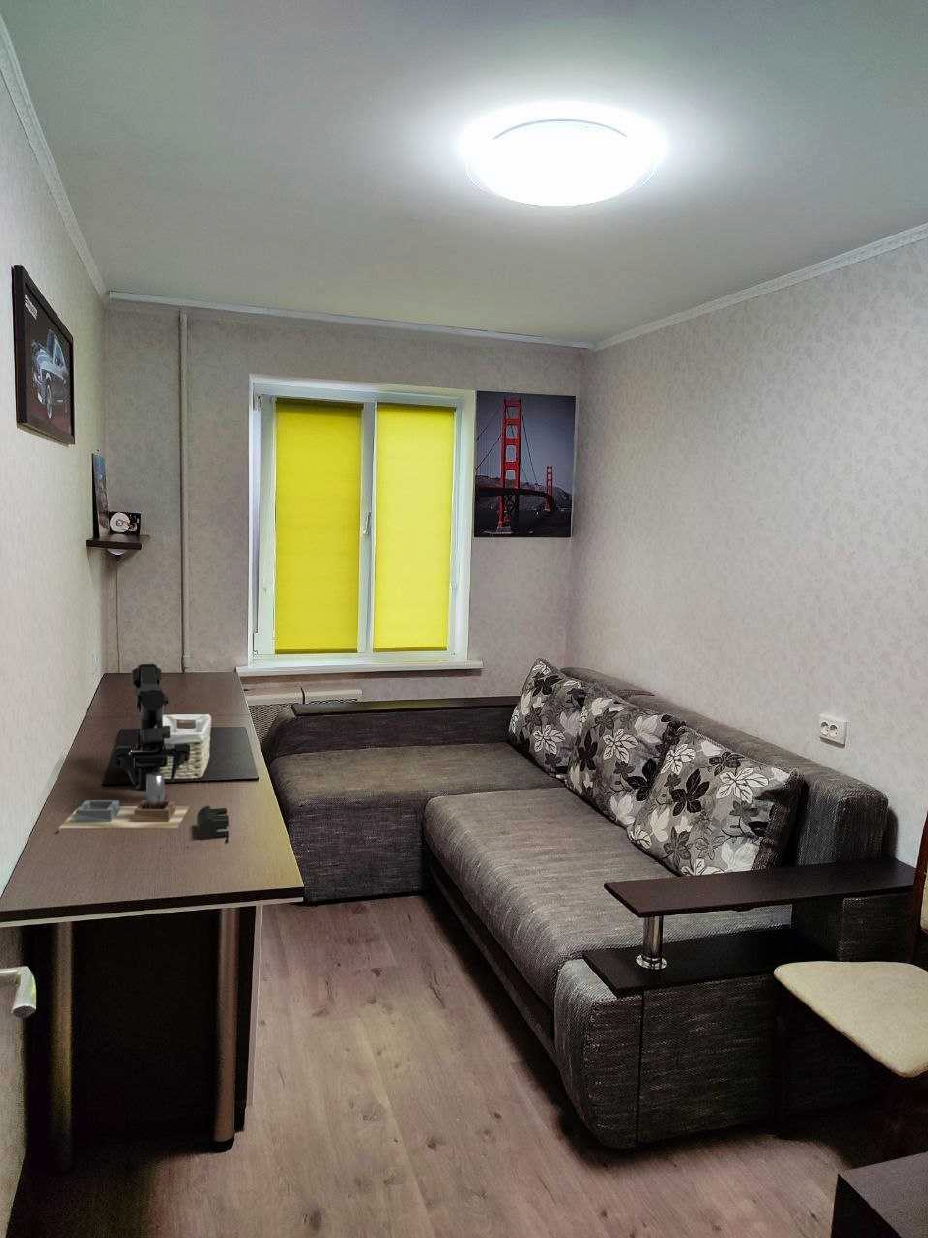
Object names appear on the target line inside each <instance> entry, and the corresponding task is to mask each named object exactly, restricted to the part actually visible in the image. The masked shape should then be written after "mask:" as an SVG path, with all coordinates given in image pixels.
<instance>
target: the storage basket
mask: <svg viewBox="0 0 928 1238" xmlns="http://www.w3.org/2000/svg"><path fill="white" fill-rule="evenodd" d="M180 723H181V724H192V723H193V724H194V723H195V728H178V727H177V724H180ZM163 726H170V738H168V739H164V743H165V745H164V746H165V747H166V749H174V744H175V743H188V744H189V745H190V758H189V761H185V762H184V764H181V765H180V766H179V768H178V770H177V772H176V775H175V778H174V780H180V779H181V780H187V779H190V780H195V779H201V778H202V777H203V775H204V773H205V770H206V769H207V766H208V763H209V761H210V760H209V759H210V757H211V755H210V743H211V728H212V716H211V715H210V714H209V713H205V714H204V713H203V714H201V713H199V714H197V713H195V714H194V713H193V714H191V713H190V714H187V713H186V714H184V713H183V714H180V713H177V714H176V713H174V714H163ZM172 765H173V756H168V765H167V766H165V767H160V772H161V773H164V780H171V774H172ZM194 778H195V779H194Z"/></svg>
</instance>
